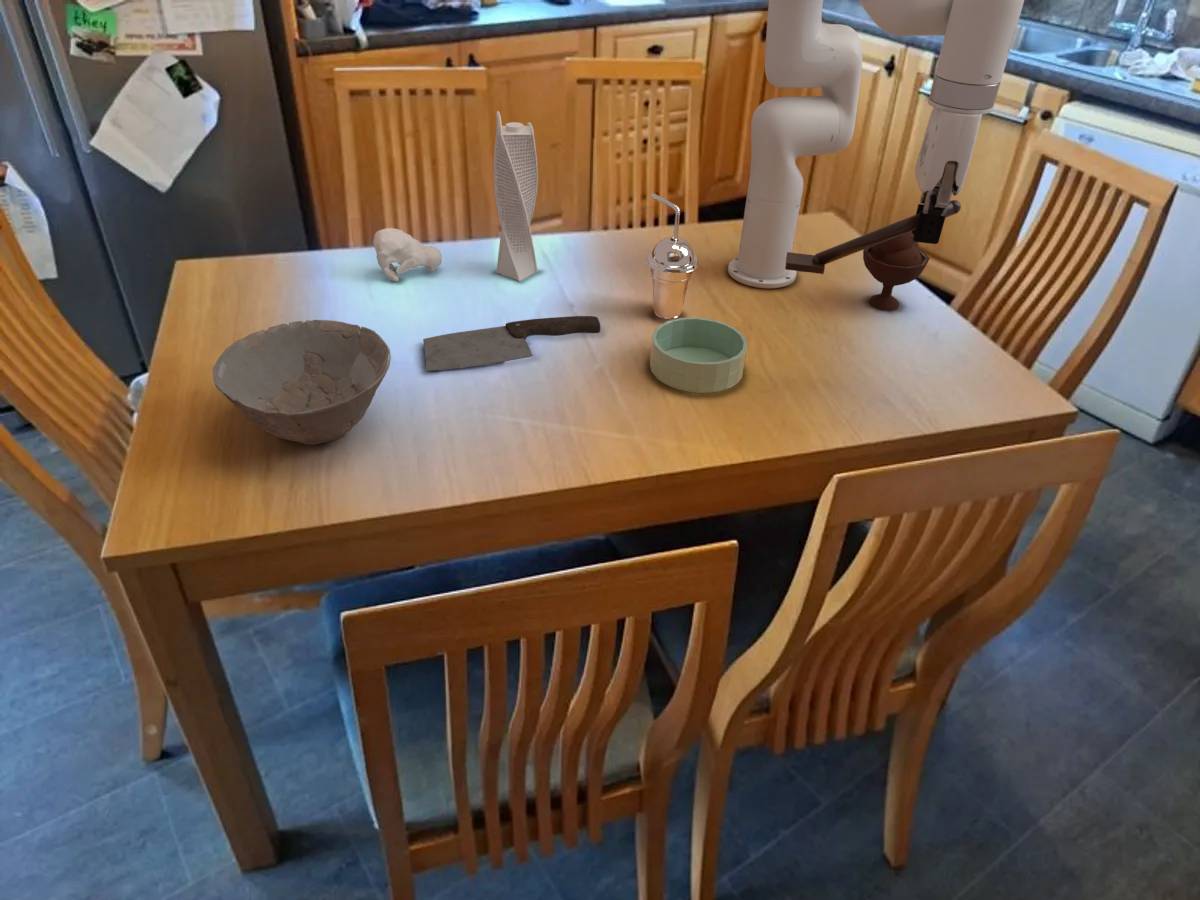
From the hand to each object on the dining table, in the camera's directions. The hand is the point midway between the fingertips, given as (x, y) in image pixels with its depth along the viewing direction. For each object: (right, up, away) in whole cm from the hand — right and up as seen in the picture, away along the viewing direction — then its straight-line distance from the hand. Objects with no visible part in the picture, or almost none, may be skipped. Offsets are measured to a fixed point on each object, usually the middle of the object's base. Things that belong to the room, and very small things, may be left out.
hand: (924, 237), depth 118 cm
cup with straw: (-32, -5, +33) cm, 46 cm away
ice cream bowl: (+7, -2, +40) cm, 41 cm away
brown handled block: (-7, -4, +5) cm, 9 cm away
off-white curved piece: (-77, +3, +42) cm, 88 cm away
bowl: (-28, -16, +19) cm, 38 cm away
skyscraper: (-58, +4, +45) cm, 74 cm away
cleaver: (-57, -12, +23) cm, 62 cm away
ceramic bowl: (-82, -25, +3) cm, 86 cm away
